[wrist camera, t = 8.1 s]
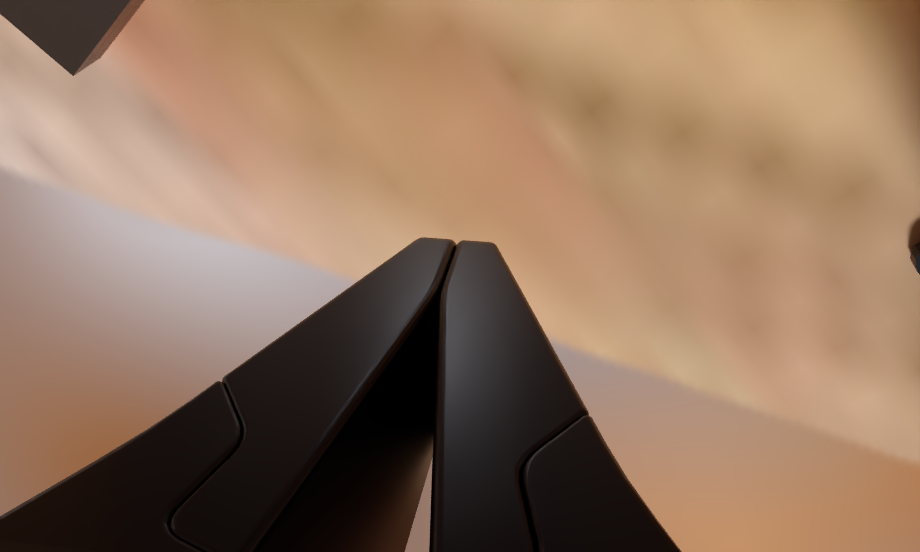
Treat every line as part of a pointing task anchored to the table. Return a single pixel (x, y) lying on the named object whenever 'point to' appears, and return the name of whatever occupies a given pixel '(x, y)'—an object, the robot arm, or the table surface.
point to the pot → (70, 26)
